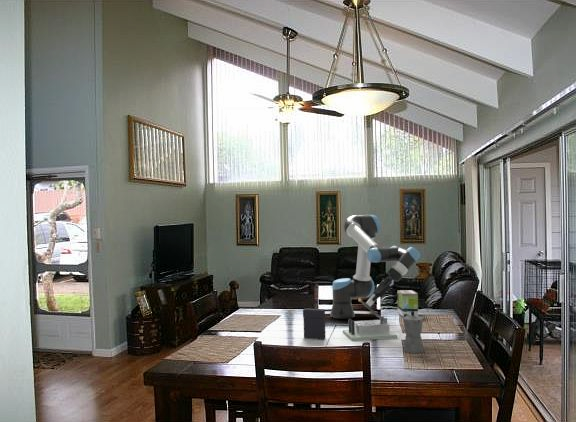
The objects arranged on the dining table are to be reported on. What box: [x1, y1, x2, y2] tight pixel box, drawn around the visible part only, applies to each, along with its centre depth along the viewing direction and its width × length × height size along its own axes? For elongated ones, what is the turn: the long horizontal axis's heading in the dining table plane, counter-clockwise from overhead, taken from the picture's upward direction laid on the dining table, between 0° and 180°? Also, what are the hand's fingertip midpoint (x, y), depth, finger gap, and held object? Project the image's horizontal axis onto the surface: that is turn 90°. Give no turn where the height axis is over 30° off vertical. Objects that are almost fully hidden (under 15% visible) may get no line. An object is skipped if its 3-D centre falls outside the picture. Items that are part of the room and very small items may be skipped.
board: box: [342, 329, 398, 342], centre depth 257 cm, size 24×18×2 cm
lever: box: [357, 298, 383, 321], centre depth 257 cm, size 18×3×2 cm
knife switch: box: [347, 315, 391, 336], centre depth 257 cm, size 19×12×8 cm, turn 99°
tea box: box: [396, 289, 419, 318], centre depth 309 cm, size 15×10×15 cm, turn 179°
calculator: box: [302, 308, 327, 341], centre depth 253 cm, size 11×4×15 cm, turn 65°
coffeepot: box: [402, 311, 424, 354], centre depth 227 cm, size 15×9×18 cm, turn 13°
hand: (367, 304), depth 257 cm, fingers closed
